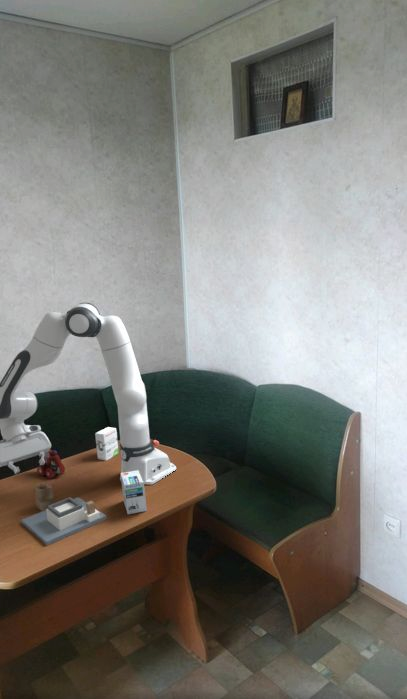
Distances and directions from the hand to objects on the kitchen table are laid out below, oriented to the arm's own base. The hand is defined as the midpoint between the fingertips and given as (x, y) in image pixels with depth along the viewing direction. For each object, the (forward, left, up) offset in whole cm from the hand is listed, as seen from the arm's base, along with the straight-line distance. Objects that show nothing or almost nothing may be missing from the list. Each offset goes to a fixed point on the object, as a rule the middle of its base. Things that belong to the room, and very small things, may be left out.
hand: (30, 468), depth 191 cm
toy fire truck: (-14, -15, -12) cm, 24 cm away
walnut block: (0, +9, -12) cm, 15 cm away
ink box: (-39, -13, -12) cm, 43 cm away
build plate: (0, +23, -12) cm, 26 cm away
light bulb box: (-22, +32, -12) cm, 41 cm away
